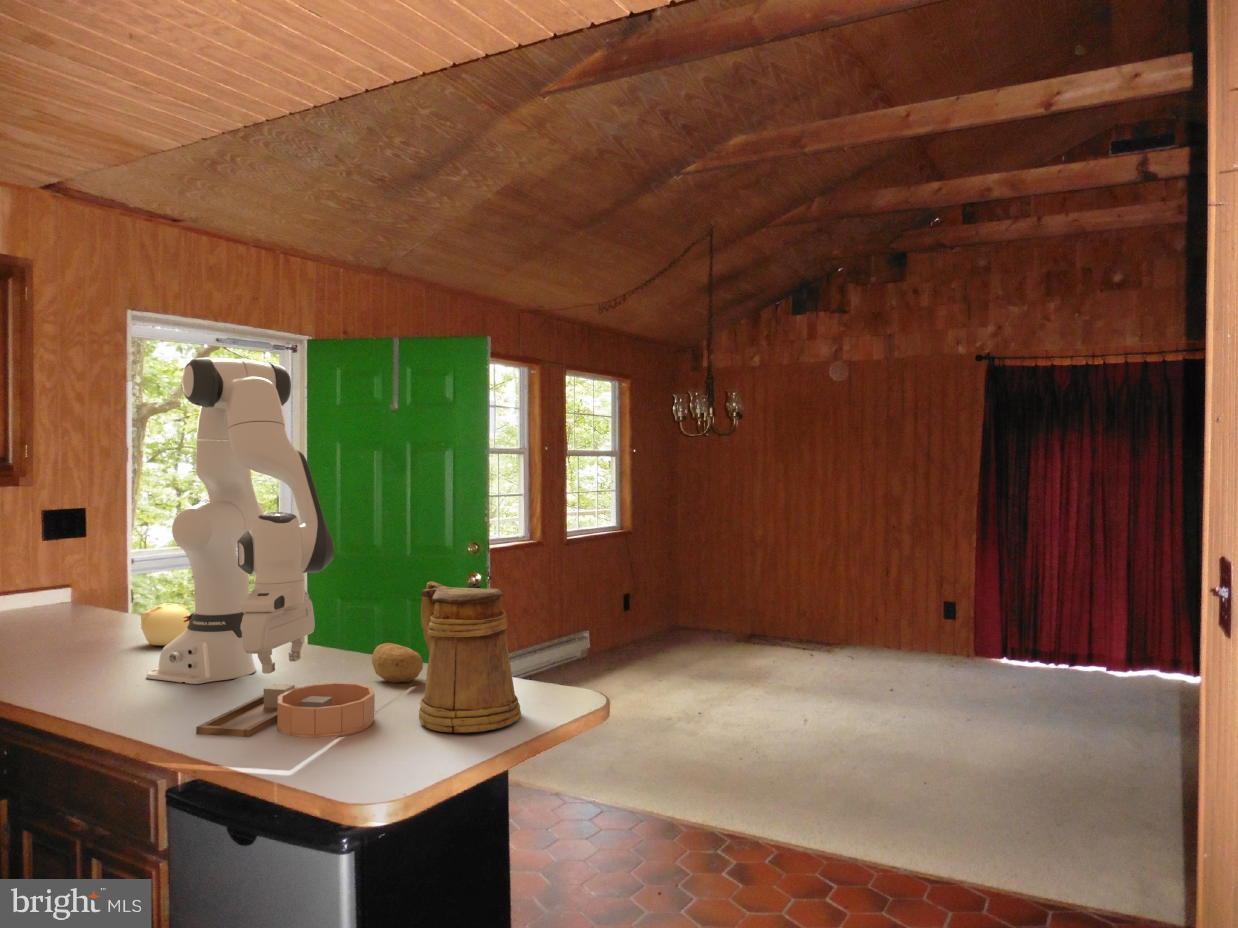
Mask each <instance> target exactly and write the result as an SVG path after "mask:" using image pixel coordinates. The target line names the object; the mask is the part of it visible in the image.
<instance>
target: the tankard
mask: <svg viewBox="0 0 1238 928" xmlns="http://www.w3.org/2000/svg"><path fill="white" fill-rule="evenodd" d="M420 595H421V605H420V623H421V629H422V632H423V633H422V634H423V638H424V642H425V644H426V649H427V651H428V653H429V656H428V662H427V670H426V680H425V689H424V694H423V695H424V696H422V698H421V700H420V703H419V704H420V705H419V706H420V707H419V709H418V714H419V715H418V720H419V723H420V724H421V725H422V726H423V727H425V728H426V729H428V730H432V731H435V732H441V733H446V734H447V733H451V734H452V733H455V734H457V733H458V734H467V733H469V734H470V733H479V732H486V731H492V730H496V729H501V728H505V727H507V726H510V725H512V724H514V723H515V722H517V721H518V720H519V719H521V716H522V711H521V705H520V703H519V698H518V697H517V695H516V693H515V692H516V691H515V687H514V681H513V673H512V667H511V660H510V654H509V648H508V639H507V632H506V629H508V621H507V616H506V615H507V614H506V611H505V610H504V609H503V608H502V607H503V606H502V604H501V603H502V602H501V597H503V596H504V593H503V592H502V590H500V589H499V588H481V587H478V588H477V587H453V586H452V587H451V586H445V585H444V584H441V583H437V582H435V581H428V582H427V583H426V586H425V589H422V591H421V594H420Z"/></svg>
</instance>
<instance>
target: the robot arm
mask: <svg viewBox="0 0 1238 928" xmlns="http://www.w3.org/2000/svg"><path fill="white" fill-rule="evenodd" d="M181 387H182V391H183V394H184V397H185V399H186V400H187V401H188V402H190V403H191V404H193V405H194V406H198V407H200V409H199V415H198V421H197V430H196V454H195V455H196V459H195V460H196V462H195V466H196V467H195V472H196V476H197V478H198V479H199V480H200V481H201V482H202V483H203V484H204V486H205V489H206V491H207V495H208V499H209V502H202V503H198V504H195V505H193V506H192V505H191V506H190V507H188V508H185V509H183V510H181V511H180V512H179V513H178V514H177V515H176V516H175V518H174V519H173V522H172V526H171V533H172V537H173V540H174V542H175V543H176V544H177V546H179V548H180V549H181V550H183V551H184V553H185V555H186V557H187V559H188V562H189V564H190V568H191V570H192V571H191V572H192V575H193V580H194V581H193V582H194V583H193V584H194V612H192V613H190V614H191V615H190V616H186V617H183V618H187V619H186V620H184V621H183V622H187V621H189V624H188V627H187V628H188V629H187V630H185V631H184V632H183V633H182V634H180V635H179V636H178V637H176V638H175V639H174V640H173V641H171V642H170V643H169V644H167V645H164V646H163V648H162V650H161V652H160V655H159V660H158V666H157V667H155V668H152V669H151V670H149V671H148V672H147V673H146V678H147V679H151V680H159V681H168V682H174V683H175V682H176V683H182V682H185V683H184V684H192V685H198V684H199V685H200V684H204V683H210V682H211V683H212V682H218V681H227V680H233V679H238V678H242V677H244V676H248V675H252V674H253V673H255V672H256V671H257V667H256V665H255V661H254V658H253V655H255V654H256V655H257V657H258V658H257V659H258V660H259V662H260V664H261V667H262V668H261V670H262V671H261V672H262V674H266V675H267V674H268V675H269V674H271V673H273V672H275V671H276V661H275V662H273V659H272V655H273V649H276V648H279V647H280V646H283V645H286V644H289V643H290V644H291V647H290V648H291V649H290V652H288V661H289V662H298V661H299V660H301V659H302V656H301V651H302V649H303V645H304V642H305V639H304V638H305V637H306V636H308V635H310V634H312V633H313V632H314V631H315V628H316V627H315V624H316V623H315V612H314V607H313V602H312V600H311V599H310V595H309V593H308V592H307V591H306V589H305V579H304V577H305V576H304V573H305V574H307V573H309V574H310V573H311V574H314V573H320V572H322V571H323V570H325V568H327V566H329V564H330V563H331V562H332V561H333V560H334V556H335V545H334V541H333V540H334V539H333V538H332V534H331V532H330V529H329V526H328V524H327V522H326V520H325V516H324V513H323V509H322V506H321V503H320V499H319V495H318V492H317V489H316V485H315V482H314V478H313V476H312V472H311V470H310V469H311V468H310V466H309V463H308V461H307V459H306V456H305V455H304V453H303V452H301V451H299V450H297V449H296V448H295V447H294V446H293V444H292V443H291V441H290V440H289V437H288V434H287V431H286V423H285V422H286V421H285V417H284V410H283V407H284V406H285V404H286V403H287V402H288V401H289V399H290V396H291V392H292V381H291V377H290V374H289V372H288V371H287V369H286V368H285V367H284V366H282V365H279V364H277V363H274V362H273V363H272V362H262V361H258V360H251V359H244V358H238V359H235V358H210V357H197V358H193V359H191V360H190V361H189V362H188V363H187V364H186V365H185V367H184V370H183V373H182V376H181ZM251 471H253V472H256V473H259V474H262V475H265V476H268V477H271V478H274V479H276V480H278V481H281V482H282V483H284V484H285V485H287V486H288V487H289V488H290V490H291V492H292V495H293V497H294V501H295V505H296V508H297V511H298V515H299V518H298V516H297V515H296V514H294V513H292V512H286V511H285V512H284V511H271V512H265V510H264V509H263V507H262V506H261V505H260V504H259V501H258V498H257V495H256V492H255V488H254V484H253V481H252V472H251ZM299 519H300V520H299ZM300 522H301V525H300ZM249 575H251V576H255V580H254V588H253V589H252V591H250V583H249V582H250V578H249Z"/></svg>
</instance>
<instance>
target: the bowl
mask: <svg viewBox="0 0 1238 928" xmlns="http://www.w3.org/2000/svg"><path fill="white" fill-rule="evenodd" d="M309 696H320V697H332V706H326V707H300V701H302V700H304V699H306V698H308V697H309ZM375 697H376V696H375V690H374V689H373V687H371V686H369V685H365V684H361V683H357V682H356V683H354V682H353V683H351V682H328V683H317V684H309V685H304V686H300V687H295V689H291V690H289V691H287V692H285V693H283V694H281V695H279V696H278V702H277V722H276V726H277V727H276V728H277V730H278V731H279V732H280V733H282V734H286V735H289V736H293V737H301V738H319V737H330V736H336V735H337V737H336V739H339V738H344V737H348V736H352V735H355V734H358V733H360V732H363V731H366V730H367V729H368V728H370V727H371V726H372V725H373V724H374V719H375V701H376V700H375Z"/></svg>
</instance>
